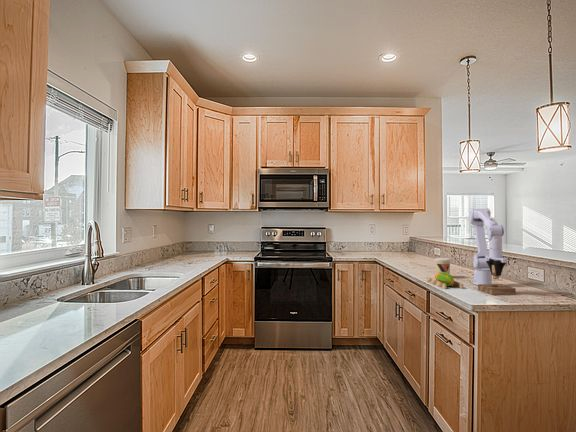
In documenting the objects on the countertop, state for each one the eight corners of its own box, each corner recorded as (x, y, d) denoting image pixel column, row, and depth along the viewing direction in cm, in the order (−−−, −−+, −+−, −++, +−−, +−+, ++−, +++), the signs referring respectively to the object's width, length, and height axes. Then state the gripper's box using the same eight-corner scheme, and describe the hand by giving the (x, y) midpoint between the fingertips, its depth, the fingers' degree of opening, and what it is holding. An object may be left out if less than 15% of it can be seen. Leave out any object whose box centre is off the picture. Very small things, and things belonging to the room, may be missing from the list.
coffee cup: (436, 278, 215) (436, 259, 215) (433, 276, 224) (432, 257, 224) (452, 278, 214) (452, 259, 214) (448, 276, 223) (447, 257, 223)
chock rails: (426, 281, 207) (426, 276, 207) (443, 280, 207) (443, 276, 207) (444, 288, 184) (444, 284, 184) (463, 288, 184) (463, 284, 184)
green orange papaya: (444, 274, 186) (429, 268, 206) (443, 288, 186) (428, 281, 206) (458, 275, 186) (441, 269, 206) (457, 289, 186) (441, 282, 206)
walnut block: (478, 289, 181) (477, 284, 181) (500, 289, 181) (500, 283, 181) (491, 294, 169) (491, 288, 169) (515, 294, 169) (515, 288, 169)
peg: (490, 278, 177) (490, 265, 177) (497, 278, 177) (496, 264, 177) (494, 279, 173) (494, 265, 174) (501, 279, 173) (500, 265, 174)
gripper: (479, 247, 182) (480, 272, 182) (496, 250, 168) (497, 277, 168) (492, 247, 182) (493, 272, 182) (510, 249, 168) (511, 277, 168)
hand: (496, 275), depth 175 cm, fingers closed on peg, 3 cm apart
